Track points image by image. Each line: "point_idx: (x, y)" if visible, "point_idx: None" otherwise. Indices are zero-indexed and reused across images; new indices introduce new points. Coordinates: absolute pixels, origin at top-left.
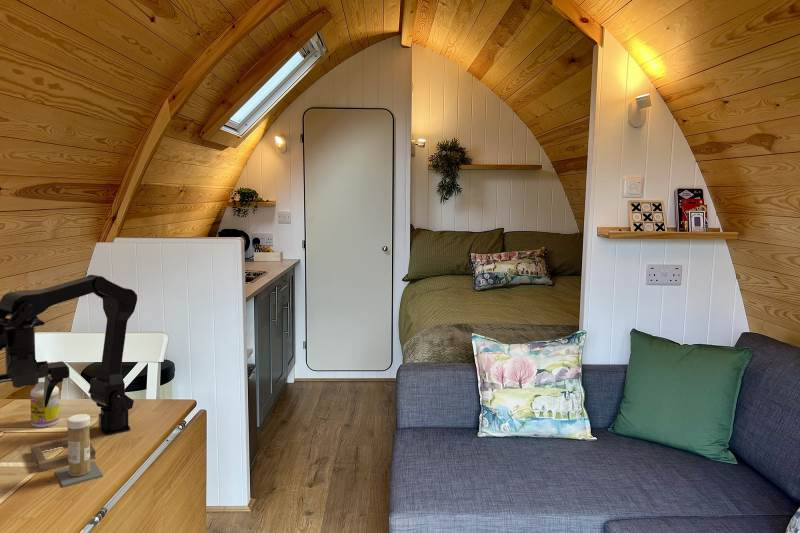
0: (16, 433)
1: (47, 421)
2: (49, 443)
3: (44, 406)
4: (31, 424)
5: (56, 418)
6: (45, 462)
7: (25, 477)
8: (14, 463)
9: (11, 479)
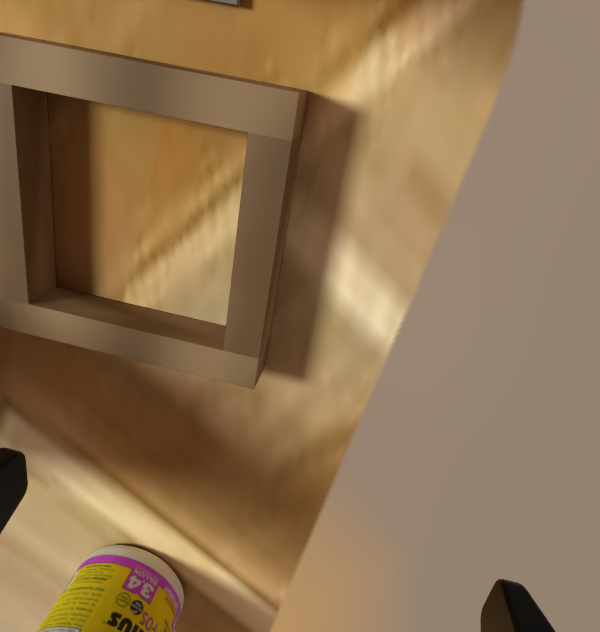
0: (252, 576)
1: (123, 567)
2: (172, 338)
3: (18, 461)
4: (183, 599)
5: (85, 567)
6: (262, 87)
7: (394, 78)
8: (366, 309)
9: (461, 115)
